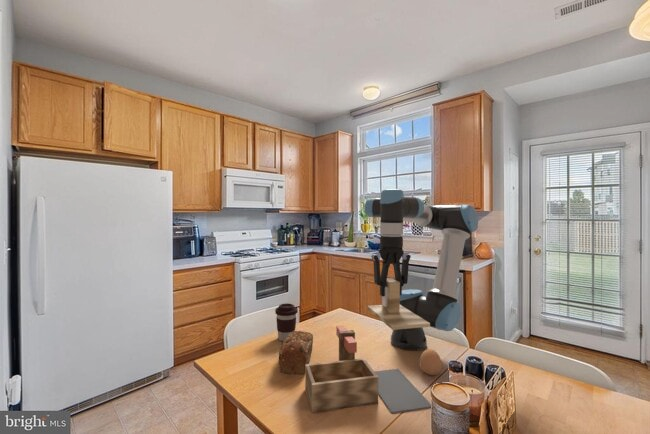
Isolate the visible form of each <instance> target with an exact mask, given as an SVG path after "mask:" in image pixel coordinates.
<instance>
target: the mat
mask: <svg viewBox="0 0 650 434" xmlns="http://www.w3.org/2000/svg"><path fill="white" fill-rule="evenodd" d="M373 371H374V372H375V373H376V375H377V376H378V397H379V398H380V399H381V400H382V402H383V403H384V404H385V406H386V407H387V409H388V410H389V412H390V413H391V414H399V413H405V412H411V411H419V410H425V409H430V408H431V405H432V404H431V402H430V401H429V400H428V399H427V398H426V397H425V396H424V395H423V394H422V392H421V391H420V390H419V389H418V388H417V387H416V386H415V385H414V384H413V383H412V382H411V380H409V379H408V378H407V377H406V375H405V374H404V373H403V372H402V371H401V370H400V369H399V368H393V369H392V368H391V369H382V370H377V371H375V370H373ZM431 409H432V408H431Z"/></svg>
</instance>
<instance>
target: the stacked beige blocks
mask: <svg viewBox="0 0 650 434" xmlns="http://www.w3.org/2000/svg"><path fill="white" fill-rule="evenodd" d="M386 286H387V287H388V307H385V306H383V305H382V304H375V305H373V304H372V305H367V306H366V307H367V308H366V309H367V310H368V311H369V312H371V313H372V314H373V315H374V316H375V317H377V319H379V320H380V321H381V322H382V323H384V324H385V325H386V326H387V327H389V328H390V329H391V330H392V331H393V330H397V329H409V328H421V327H423V328H431V327H430V323H429V322H427V321H426V320H424V319H422V318H421V317H419V316H418V315H416V314H414V313H413V312H411V311H409V310H408V309H406V308H405V307H403V306H401V305H400V282H399V281H397V280H395V278H392V277H391V278H390V277H389V278H388V277H387V281H386Z"/></svg>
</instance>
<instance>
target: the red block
mask: <svg viewBox="0 0 650 434" xmlns="http://www.w3.org/2000/svg"><path fill="white" fill-rule="evenodd" d="M339 331H348V329H347V328H346V327H345V326H344V325H343V324H342V325H336V334H335V335H336V336H337V338H338V339H339ZM357 344H358V343H357V340H356V338H355V339H354V338H353V337H352V336H351V335H343V345H344V347H345V348H346V350H347V351H348V353H355V354H356V353H357V352H358V351H357V350H358V347H357V346H358V345H357Z"/></svg>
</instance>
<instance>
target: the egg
mask: <svg viewBox="0 0 650 434" xmlns="http://www.w3.org/2000/svg"><path fill="white" fill-rule="evenodd" d="M419 365H420V368H421V369H422V371H423V372H424V373H426V374H427V375H430V376H434V375H437V374H439V373H440V372H441V369H442V365H443V364H442V358H441V357H440V355H439V354H438V352H437V351H435V350H434V349H432V348H431V349H425V350H424V351H422V353H421V355H420V358H419Z"/></svg>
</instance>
